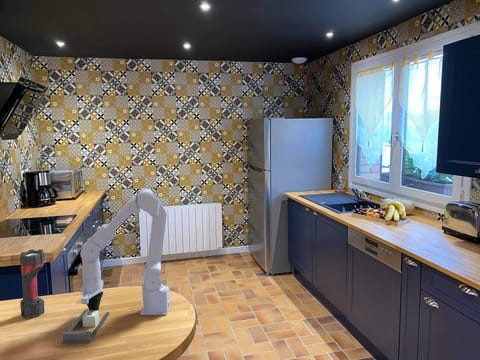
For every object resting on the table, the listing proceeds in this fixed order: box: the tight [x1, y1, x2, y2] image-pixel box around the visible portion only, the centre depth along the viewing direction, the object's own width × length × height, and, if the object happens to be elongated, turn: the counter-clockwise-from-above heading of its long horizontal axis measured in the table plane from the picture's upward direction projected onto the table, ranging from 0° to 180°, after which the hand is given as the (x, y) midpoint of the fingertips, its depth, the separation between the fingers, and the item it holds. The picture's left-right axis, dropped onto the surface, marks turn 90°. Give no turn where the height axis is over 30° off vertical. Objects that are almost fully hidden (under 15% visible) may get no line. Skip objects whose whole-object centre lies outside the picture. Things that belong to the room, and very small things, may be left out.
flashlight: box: [19, 249, 46, 319], centre depth 131 cm, size 8×8×23 cm
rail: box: [61, 308, 110, 344], centre depth 123 cm, size 8×17×3 cm, turn 0°
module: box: [82, 310, 100, 328], centre depth 126 cm, size 4×4×4 cm
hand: (94, 314), depth 129 cm, fingers closed
